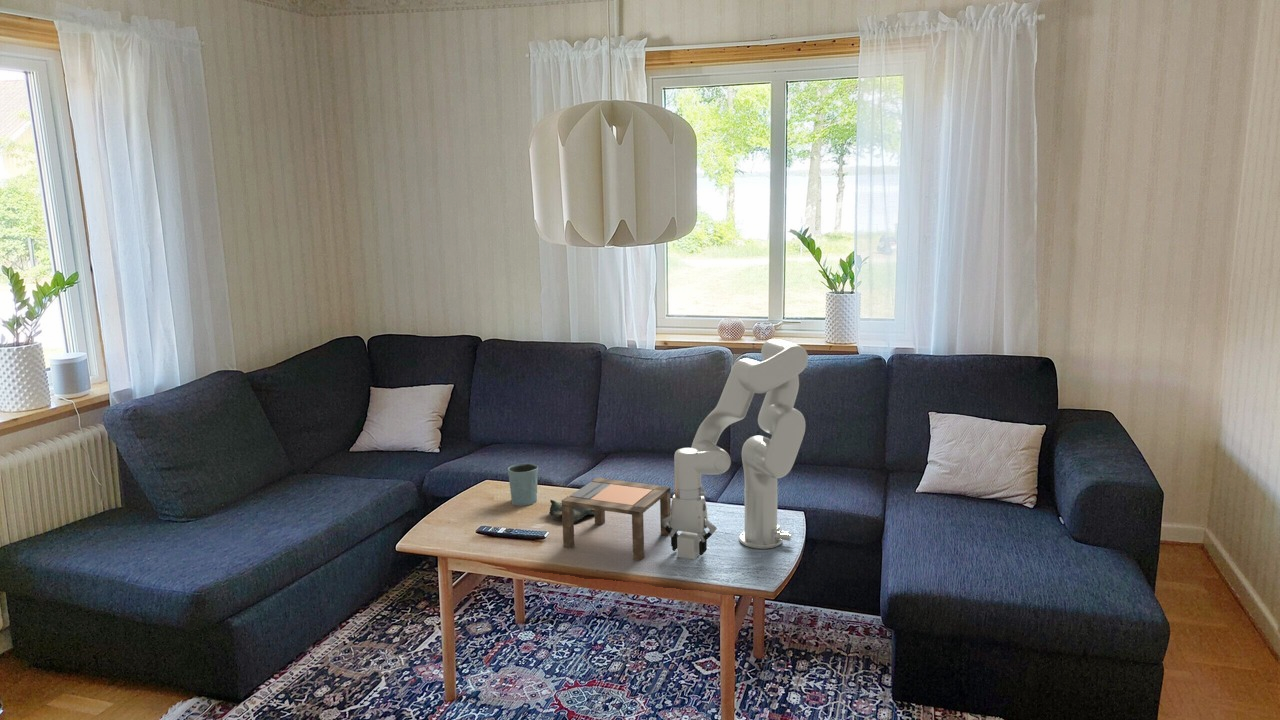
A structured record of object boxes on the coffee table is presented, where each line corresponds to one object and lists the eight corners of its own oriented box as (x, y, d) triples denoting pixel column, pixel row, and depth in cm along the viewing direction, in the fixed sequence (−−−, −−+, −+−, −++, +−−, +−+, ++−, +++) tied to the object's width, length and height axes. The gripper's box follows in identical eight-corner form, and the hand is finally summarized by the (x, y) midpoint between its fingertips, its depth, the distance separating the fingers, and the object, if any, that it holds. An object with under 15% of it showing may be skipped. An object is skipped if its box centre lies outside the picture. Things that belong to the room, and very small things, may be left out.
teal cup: (506, 506, 281) (505, 472, 279) (512, 496, 291) (510, 463, 289) (537, 506, 281) (535, 472, 278) (541, 496, 291) (540, 462, 288)
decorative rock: (570, 490, 285) (609, 492, 278) (571, 507, 286) (610, 510, 279) (540, 504, 268) (580, 507, 261) (541, 523, 269) (582, 526, 262)
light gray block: (700, 552, 241) (700, 533, 240) (694, 559, 236) (693, 539, 235) (684, 550, 243) (683, 530, 242) (677, 556, 238) (677, 536, 237)
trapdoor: (653, 502, 252) (652, 489, 251) (633, 518, 239) (632, 504, 239) (591, 493, 261) (591, 481, 260) (569, 508, 248) (569, 495, 247)
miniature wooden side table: (671, 532, 256) (670, 487, 253) (640, 560, 236) (639, 511, 234) (598, 521, 266) (596, 477, 264) (563, 547, 247) (561, 500, 244)
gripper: (722, 491, 236) (722, 550, 239) (664, 484, 243) (665, 541, 246) (712, 500, 229) (713, 561, 232) (654, 492, 236) (655, 551, 240)
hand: (688, 550), depth 239 cm, fingers open, 7 cm apart
